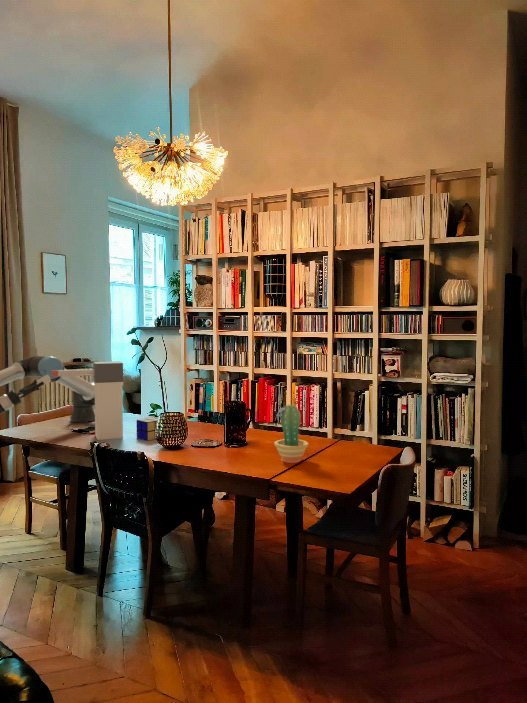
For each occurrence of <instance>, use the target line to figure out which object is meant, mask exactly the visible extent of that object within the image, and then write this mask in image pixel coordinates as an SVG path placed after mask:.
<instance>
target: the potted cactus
mask: <svg viewBox="0 0 527 703" xmlns="http://www.w3.org/2000/svg"><path fill="white" fill-rule="evenodd" d="M301 417H302V415H301V412H300V410H299V409H298V407H297V406H296V405H294V404H291V405H290V404H287V405H285V406H283V407H280V408H279V409H278V412H277V413H276V419H277V421H278V422H279V418H280V426H281V428H282V432H283V439H282V438H281V439H279V440H275V441H274V446H275V448H276V450H277V452H278V455H279V456H280V457H281V459H280V460H281V462H284V463H289V464H291V463H293V464H294V463H300V462H301V461H302V459H301V458H302V457H303V456H304V454H305V451H306V448H308V447H309V442H308V441H306V440H303V439H299V429H300V425H301Z"/></svg>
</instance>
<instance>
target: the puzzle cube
mask: <svg viewBox="0 0 527 703" xmlns="http://www.w3.org/2000/svg"><path fill="white" fill-rule="evenodd" d="M158 419H159V418H156V417H146V418H139V419H136V439H137V440H138V439H139V440H142V441H145V442H150V441H154V440H156V439H155V428H156V424H157V421H158Z"/></svg>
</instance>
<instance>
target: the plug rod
mask: <svg viewBox="0 0 527 703" xmlns="http://www.w3.org/2000/svg"><path fill="white" fill-rule="evenodd" d="M94 375H95V369H93V368H90V369H89V368H86V369H67V370H52V377H60V376H79V377H85V376H89V377H90V376H94Z"/></svg>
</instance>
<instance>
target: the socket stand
mask: <svg viewBox="0 0 527 703" xmlns="http://www.w3.org/2000/svg"><path fill="white" fill-rule="evenodd" d="M92 366H93V368H92V369H95V375H93V380H92V382H93V383H94V384H95V405H94V413H95V421H94V430H95V431H94V432H95V434H94V435H95V438H96V440H97V441H102V440H103V441H104V440H115V439H124V426H123V425H124V424H123V423H124V419H123V418H124V417H123V416H124V415H123V414H124V413H123V412H124V411H123V408H124V407H123V406H124V405H123V404H124V403H123V386H124V362H122V361H116V360H115V361H112V360H111V361H93V365H92Z"/></svg>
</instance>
